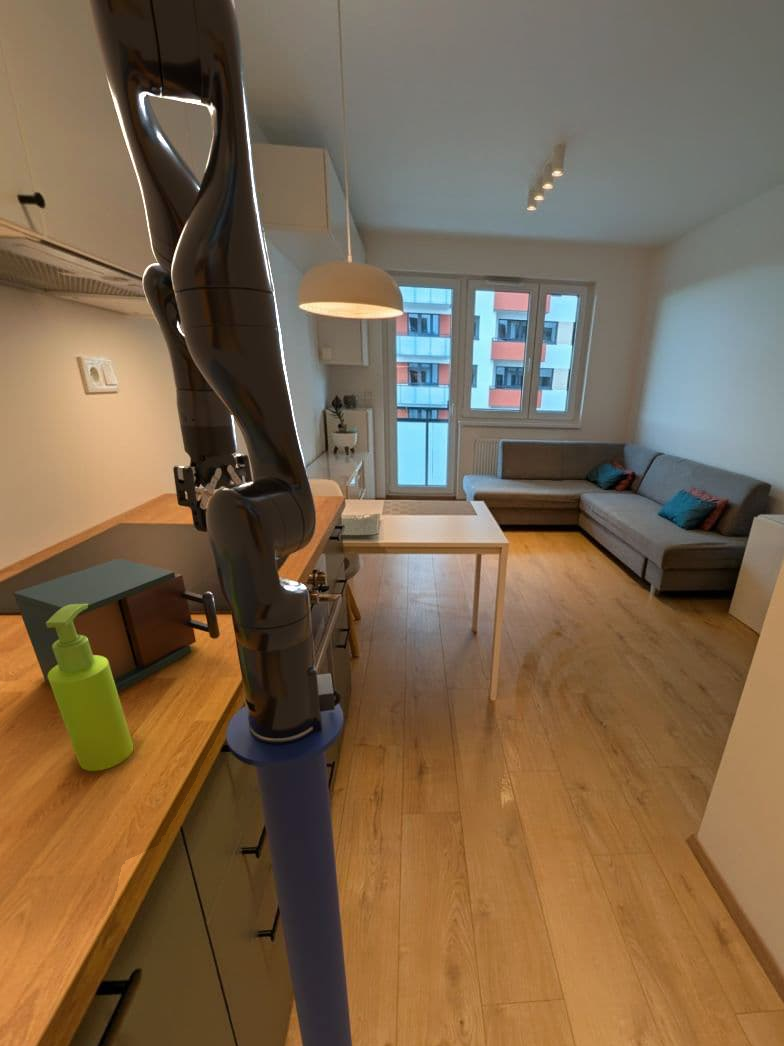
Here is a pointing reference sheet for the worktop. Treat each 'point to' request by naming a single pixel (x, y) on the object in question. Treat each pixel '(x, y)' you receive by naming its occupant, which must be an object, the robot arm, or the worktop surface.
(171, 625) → the sliding door
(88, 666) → the soap dispenser
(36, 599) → the cabinet
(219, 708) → the worktop surface
